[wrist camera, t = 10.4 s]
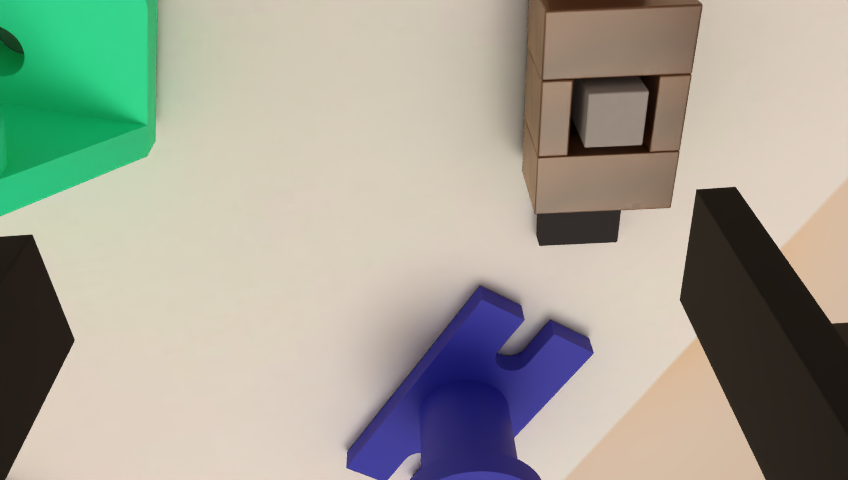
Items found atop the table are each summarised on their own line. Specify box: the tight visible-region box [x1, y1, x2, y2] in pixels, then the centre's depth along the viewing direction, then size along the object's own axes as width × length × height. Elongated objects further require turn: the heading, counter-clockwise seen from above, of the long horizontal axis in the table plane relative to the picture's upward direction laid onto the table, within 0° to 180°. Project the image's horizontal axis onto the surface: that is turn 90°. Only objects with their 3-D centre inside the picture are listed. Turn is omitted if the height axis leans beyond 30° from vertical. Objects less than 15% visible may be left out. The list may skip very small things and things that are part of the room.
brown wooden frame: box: [522, 0, 702, 214], centre depth 34 cm, size 9×6×4 cm, turn 2°
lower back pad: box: [537, 76, 649, 246], centre depth 34 cm, size 18×4×6 cm, turn 2°
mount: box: [346, 286, 594, 480], centre depth 44 cm, size 15×8×9 cm, turn 149°
